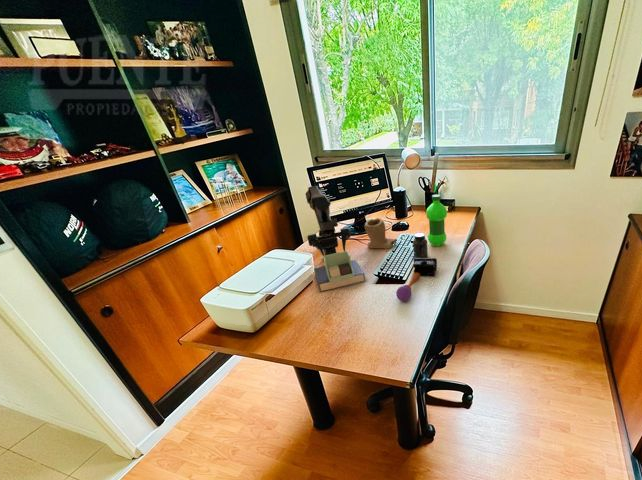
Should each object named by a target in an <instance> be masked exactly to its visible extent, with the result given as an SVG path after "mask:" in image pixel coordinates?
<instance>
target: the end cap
mask: <svg viewBox="0 0 642 480" xmlns="http://www.w3.org/2000/svg"><path fill="white" fill-rule="evenodd" d="M412 267H413V274H414V273H419V274H420V277H426V278H429V277H431V278H434V277H435V276H436V272H437V271H438V270H437V269H438V259H437V258H436V257H428V258H414V257H413V265H412Z"/></svg>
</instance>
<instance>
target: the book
mask: <svg viewBox="0 0 642 480" xmlns="http://www.w3.org/2000/svg"><path fill="white" fill-rule="evenodd" d="M351 264H352V269H353V273H354V277H353V278H348V279H344V280H340V281H336V282H331V283H330V281H329V279H328V275H327V271H326V267H325V265H324V266H319V267H314V268H313V270H314V273H315V277H316V278H315V279H316V281H317V285H318V288H319V291H320V292H321V293H323V292H327V291H329V290H334V289H338V288H343V287H347V286H351V285H355V284H360V283H363V282H366V278H365V272H364V271H363V269H362V267H361V266H360V264H359V263H358V260H357V259H351Z"/></svg>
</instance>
